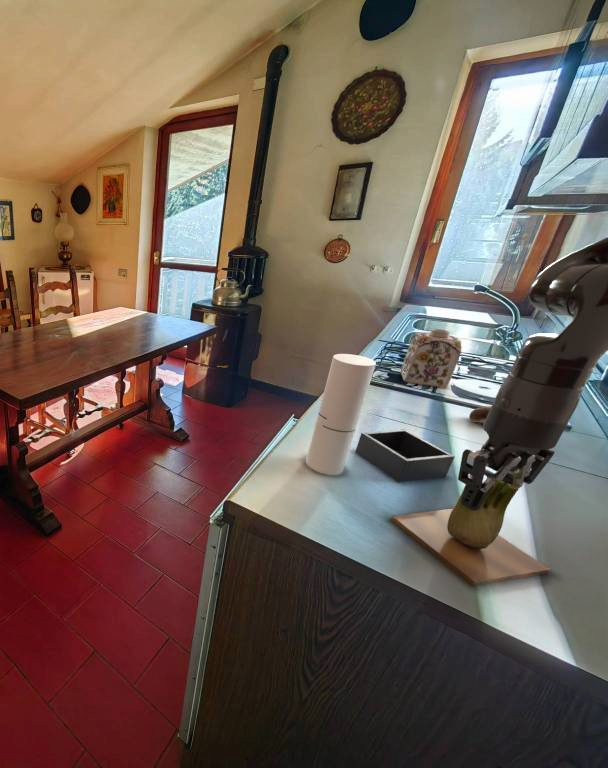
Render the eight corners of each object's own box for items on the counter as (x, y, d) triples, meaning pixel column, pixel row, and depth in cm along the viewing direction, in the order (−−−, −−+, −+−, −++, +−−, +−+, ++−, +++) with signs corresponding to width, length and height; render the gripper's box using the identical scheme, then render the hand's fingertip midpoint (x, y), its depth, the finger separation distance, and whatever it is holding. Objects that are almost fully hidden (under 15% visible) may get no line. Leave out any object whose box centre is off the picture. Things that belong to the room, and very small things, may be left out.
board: (454, 513, 72) (457, 507, 72) (547, 575, 60) (550, 569, 59) (390, 521, 70) (392, 515, 69) (471, 587, 57) (475, 581, 57)
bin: (397, 449, 93) (404, 429, 90) (445, 478, 82) (454, 456, 80) (354, 453, 91) (361, 432, 89) (398, 484, 80) (407, 461, 78)
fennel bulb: (439, 536, 65) (466, 476, 60) (447, 524, 68) (474, 466, 63) (485, 558, 61) (519, 495, 56) (492, 544, 64) (524, 483, 59)
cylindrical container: (326, 456, 89) (355, 353, 80) (350, 475, 83) (385, 364, 73) (298, 459, 88) (325, 354, 78) (320, 478, 82) (352, 366, 72)
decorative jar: (447, 390, 127) (468, 337, 121) (403, 382, 133) (421, 331, 126) (439, 378, 137) (459, 329, 130) (399, 372, 142) (415, 324, 136)
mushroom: (521, 426, 98) (512, 402, 99) (480, 431, 101) (471, 407, 103) (507, 428, 105) (499, 405, 106) (469, 432, 108) (461, 410, 110)
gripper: (521, 424, 50) (470, 527, 57) (605, 417, 53) (547, 517, 59) (461, 400, 57) (422, 494, 64) (538, 395, 60) (493, 486, 66)
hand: (483, 504), depth 61 cm, fingers closed on fennel bulb, 4 cm apart
